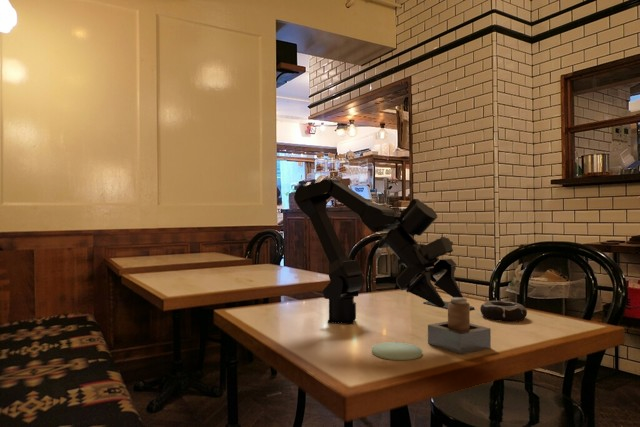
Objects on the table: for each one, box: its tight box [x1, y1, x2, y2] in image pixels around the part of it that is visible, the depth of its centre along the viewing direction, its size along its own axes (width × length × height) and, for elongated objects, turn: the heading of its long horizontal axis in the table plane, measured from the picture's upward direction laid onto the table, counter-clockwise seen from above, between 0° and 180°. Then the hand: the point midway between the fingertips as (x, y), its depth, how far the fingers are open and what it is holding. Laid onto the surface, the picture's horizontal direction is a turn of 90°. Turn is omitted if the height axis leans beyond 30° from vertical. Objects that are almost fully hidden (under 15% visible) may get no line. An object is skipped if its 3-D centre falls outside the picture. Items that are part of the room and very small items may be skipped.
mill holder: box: [427, 320, 492, 355], centre depth 92 cm, size 9×9×4 cm
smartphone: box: [422, 300, 475, 311], centre depth 133 cm, size 7×1×15 cm
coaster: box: [371, 341, 423, 361], centre depth 88 cm, size 10×10×1 cm
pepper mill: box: [447, 296, 471, 332], centre depth 92 cm, size 4×4×10 cm
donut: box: [479, 300, 528, 323], centre depth 118 cm, size 12×12×4 cm
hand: (453, 303), depth 93 cm, fingers open, 9 cm apart
